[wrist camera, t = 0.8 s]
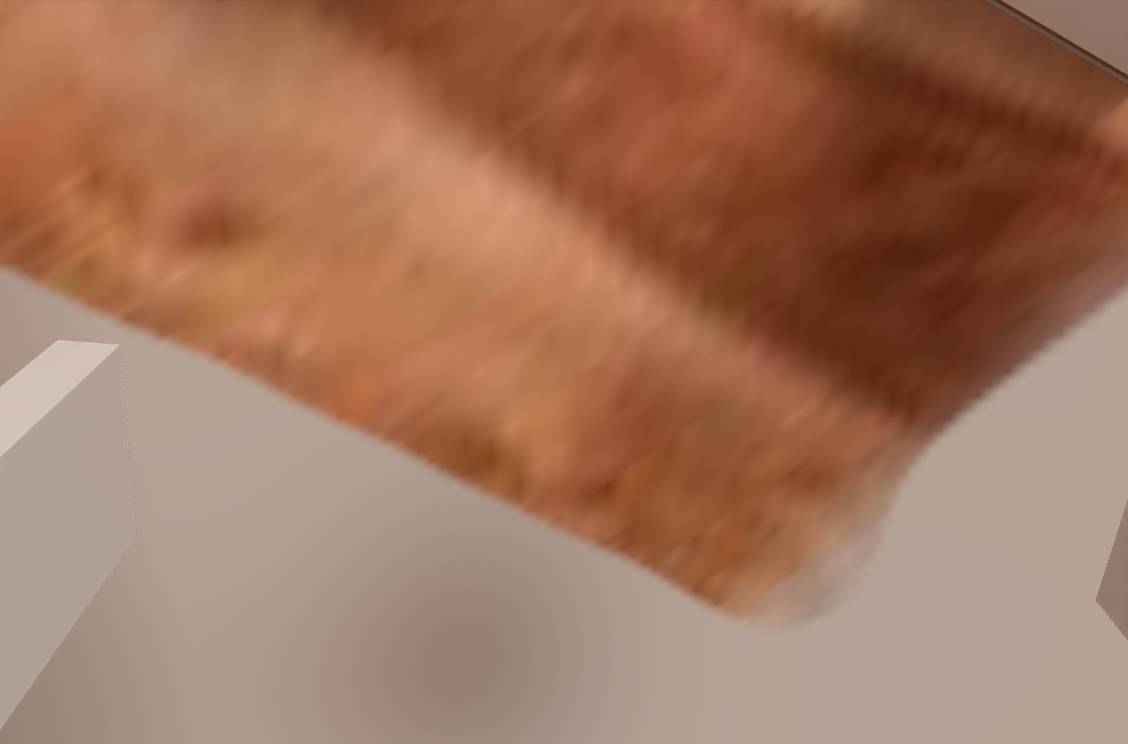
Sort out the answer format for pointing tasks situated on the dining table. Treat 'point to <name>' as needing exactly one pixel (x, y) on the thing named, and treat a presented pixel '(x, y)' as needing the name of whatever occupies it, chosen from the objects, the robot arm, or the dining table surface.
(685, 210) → the dining table surface
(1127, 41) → the white coffee maker
